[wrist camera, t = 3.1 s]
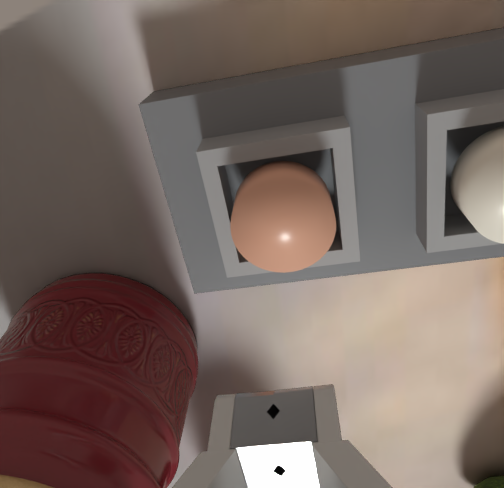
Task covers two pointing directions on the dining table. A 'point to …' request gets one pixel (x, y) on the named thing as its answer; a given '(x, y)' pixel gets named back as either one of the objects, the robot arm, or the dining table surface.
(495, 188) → the cream button
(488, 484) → the avocado
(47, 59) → the dining table surface
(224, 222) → the panel
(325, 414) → the robot arm
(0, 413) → the canister
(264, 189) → the terracotta button
